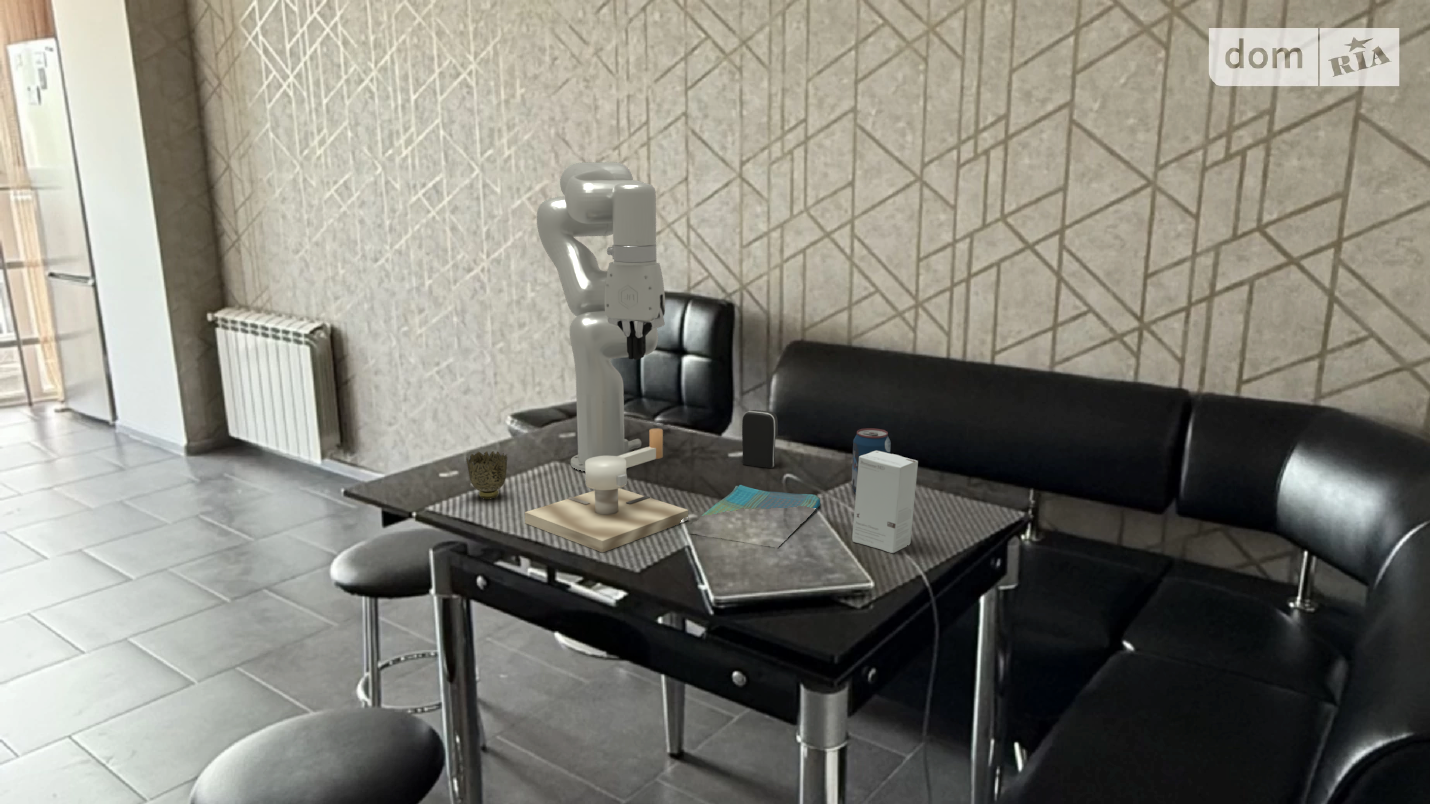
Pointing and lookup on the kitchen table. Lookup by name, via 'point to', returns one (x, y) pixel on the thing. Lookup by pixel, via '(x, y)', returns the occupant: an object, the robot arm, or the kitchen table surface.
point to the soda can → (868, 447)
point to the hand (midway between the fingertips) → (636, 357)
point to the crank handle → (621, 464)
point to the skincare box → (884, 501)
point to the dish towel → (762, 500)
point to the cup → (487, 473)
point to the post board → (606, 518)
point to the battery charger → (759, 438)
